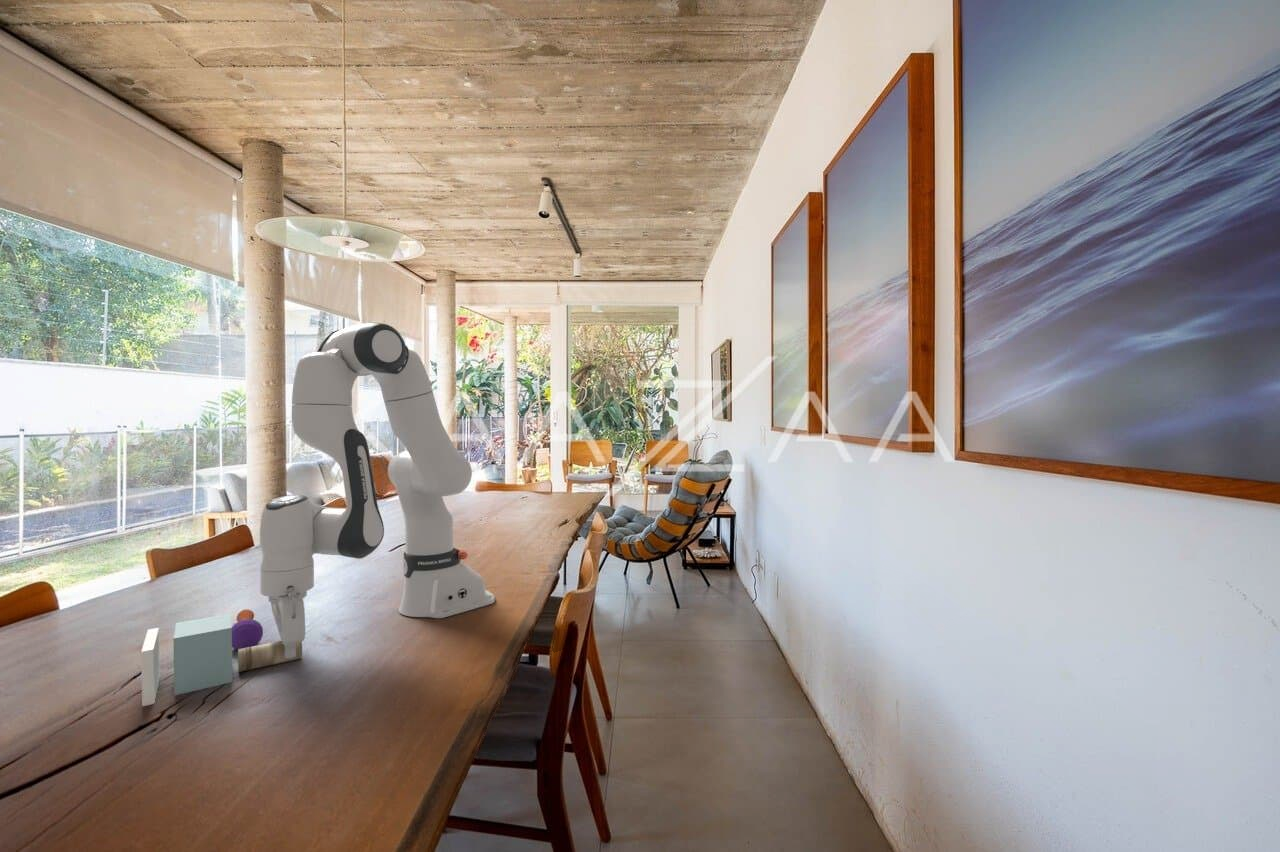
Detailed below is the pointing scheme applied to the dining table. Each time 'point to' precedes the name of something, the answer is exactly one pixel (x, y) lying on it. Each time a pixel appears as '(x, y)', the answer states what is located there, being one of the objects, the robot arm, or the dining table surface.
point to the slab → (150, 666)
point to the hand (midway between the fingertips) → (288, 651)
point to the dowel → (264, 655)
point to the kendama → (246, 631)
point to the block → (202, 653)
